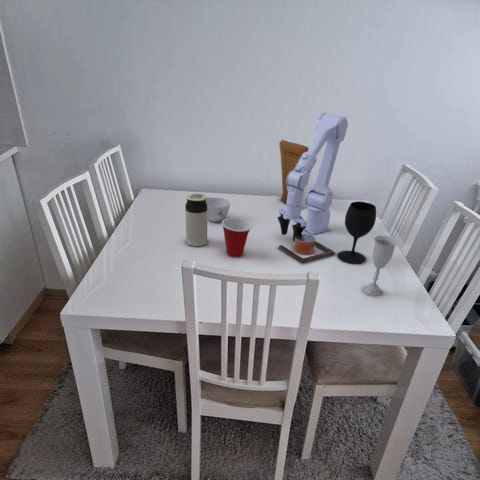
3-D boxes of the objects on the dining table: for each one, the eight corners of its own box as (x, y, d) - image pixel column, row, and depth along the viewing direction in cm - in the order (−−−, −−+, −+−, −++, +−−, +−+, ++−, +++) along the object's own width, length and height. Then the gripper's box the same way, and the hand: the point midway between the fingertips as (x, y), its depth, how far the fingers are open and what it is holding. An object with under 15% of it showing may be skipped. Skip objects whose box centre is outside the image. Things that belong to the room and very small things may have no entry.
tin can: (304, 244, 164) (306, 232, 161) (317, 252, 159) (319, 239, 156) (289, 248, 160) (291, 235, 157) (302, 256, 155) (304, 243, 152)
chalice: (358, 285, 139) (371, 235, 129) (378, 285, 140) (392, 235, 130) (365, 297, 133) (379, 245, 123) (386, 297, 134) (401, 246, 124)
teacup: (235, 221, 179) (236, 203, 175) (211, 227, 173) (211, 208, 168) (215, 210, 189) (216, 193, 184) (192, 215, 182) (191, 197, 178)
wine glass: (366, 254, 159) (379, 203, 148) (364, 266, 151) (377, 213, 139) (339, 249, 162) (349, 198, 150) (335, 260, 153) (346, 208, 142)
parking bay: (309, 240, 167) (310, 237, 166) (334, 254, 158) (334, 251, 157) (278, 248, 159) (278, 245, 159) (302, 263, 150) (302, 260, 149)
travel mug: (211, 242, 161) (212, 196, 150) (196, 248, 156) (195, 201, 145) (197, 236, 165) (197, 191, 154) (182, 242, 160) (180, 195, 150)
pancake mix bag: (295, 211, 193) (303, 147, 177) (272, 198, 206) (278, 138, 190) (307, 209, 196) (316, 146, 180) (283, 196, 209) (290, 137, 193)
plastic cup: (247, 262, 149) (249, 230, 142) (217, 258, 150) (218, 226, 143) (252, 249, 158) (254, 219, 151) (224, 245, 159) (225, 215, 152)
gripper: (274, 199, 160) (270, 232, 167) (298, 212, 150) (293, 246, 158) (288, 197, 163) (284, 229, 171) (313, 209, 153) (307, 243, 161)
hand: (289, 237), depth 164 cm, fingers open, 7 cm apart
